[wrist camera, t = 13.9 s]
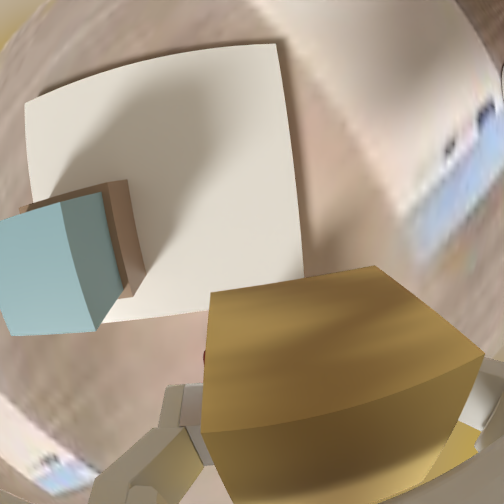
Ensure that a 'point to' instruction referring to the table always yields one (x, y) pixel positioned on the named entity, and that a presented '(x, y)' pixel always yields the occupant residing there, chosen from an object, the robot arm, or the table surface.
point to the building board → (177, 173)
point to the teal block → (58, 268)
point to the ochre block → (330, 388)
